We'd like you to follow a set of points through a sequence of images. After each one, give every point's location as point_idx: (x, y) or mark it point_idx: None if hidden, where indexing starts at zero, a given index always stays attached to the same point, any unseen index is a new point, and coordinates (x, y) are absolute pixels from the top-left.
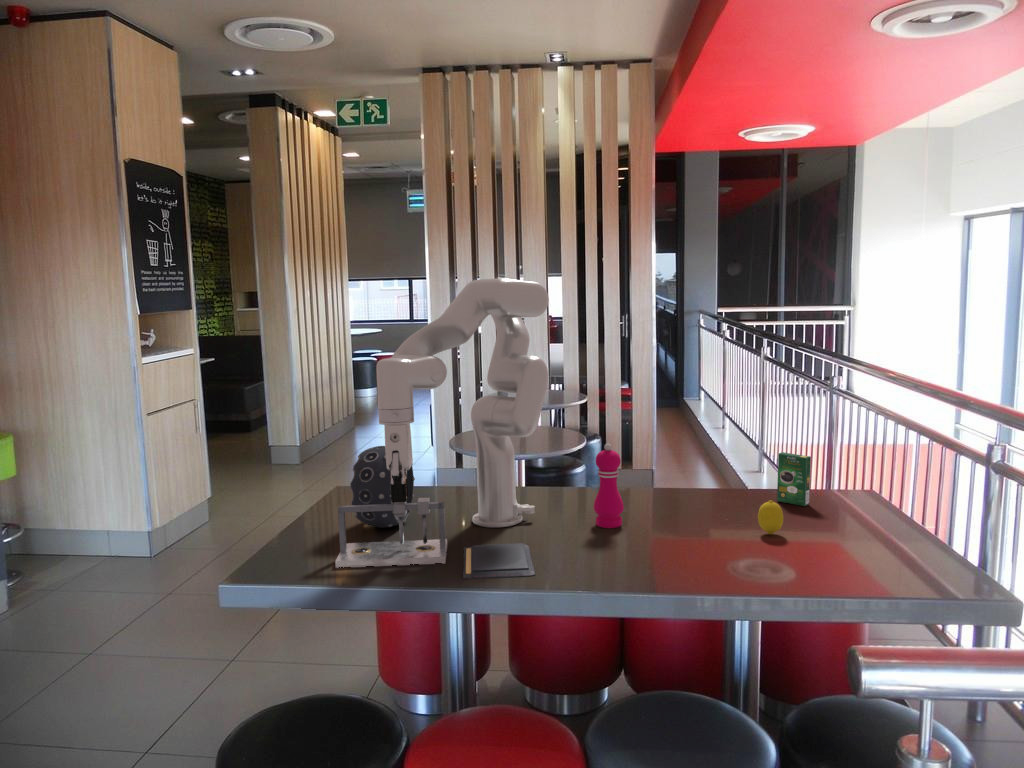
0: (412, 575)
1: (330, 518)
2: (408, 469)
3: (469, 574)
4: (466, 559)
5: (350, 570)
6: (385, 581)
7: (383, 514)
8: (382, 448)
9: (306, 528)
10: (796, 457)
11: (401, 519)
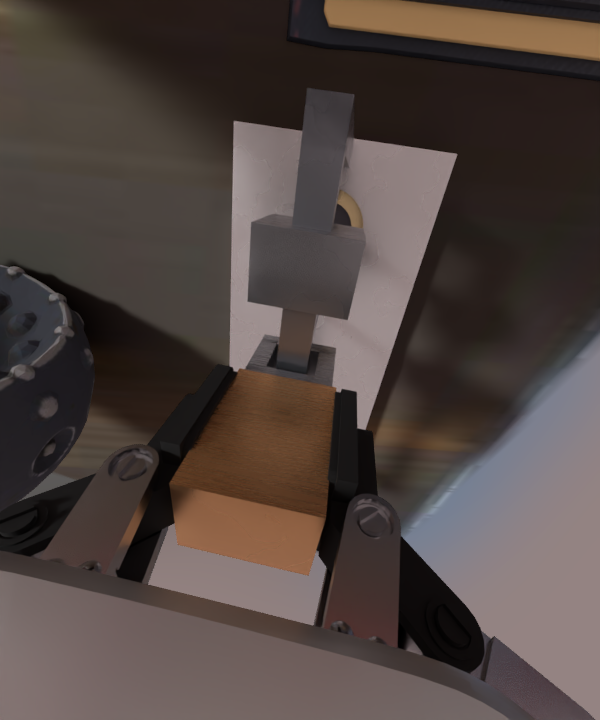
0: (508, 286)
1: None
2: (510, 702)
3: None
4: (478, 41)
5: (383, 421)
6: (512, 360)
7: (91, 362)
8: None
9: (86, 465)
10: None
11: None
